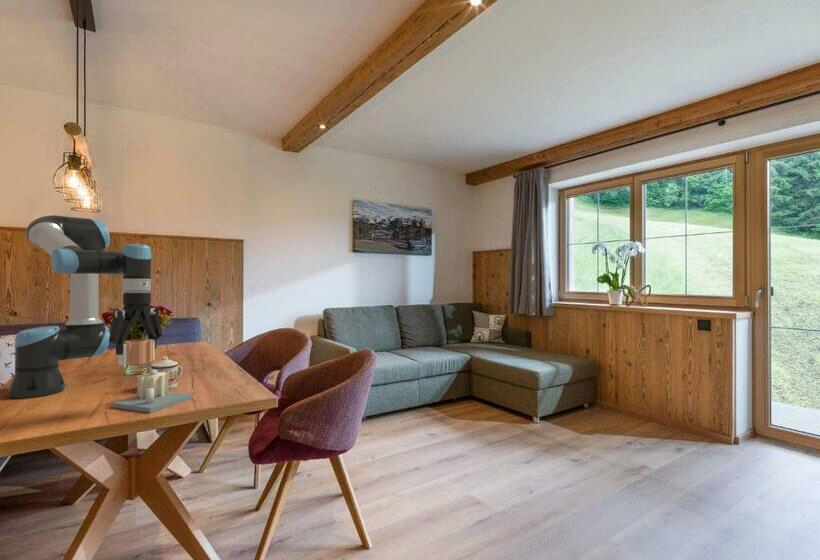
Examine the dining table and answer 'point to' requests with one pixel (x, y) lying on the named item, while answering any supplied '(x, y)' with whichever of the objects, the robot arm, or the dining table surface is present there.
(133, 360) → the loose gear
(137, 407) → the gear board
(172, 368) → the teacup with lid
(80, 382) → the dining table surface
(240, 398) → the dining table surface
